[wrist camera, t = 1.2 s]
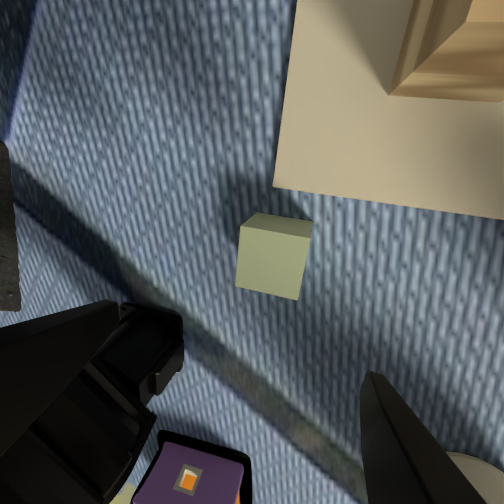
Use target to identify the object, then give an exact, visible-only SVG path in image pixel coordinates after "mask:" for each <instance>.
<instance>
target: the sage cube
mask: <svg viewBox="0 0 504 504" xmlns="http://www.w3.org/2000/svg"><path fill="white" fill-rule="evenodd" d="M312 225H313V222H312V221H306V220H300V219H294V218H288V217H282V216H276V215H270V214H264V213H258V212H257V213H255V214H254V215H253V216H252V217H251V218H249V219H248V220H247V221H246V222H245V223H243V224H242V225H241V226H240V237H239V248H238V259H237V270H236V281H235V286H237V287H241V288H246V289H250V290H254V291H259V292H263V293H267V294H272V295H276V296H280V297H284V298H289V299H293V300H297V301H298V296H299V291H300V287H301V282H302V277H303V272H304V267H305V262H306V257H307V252H308V248H309V243H310V238H311V232H312Z"/></svg>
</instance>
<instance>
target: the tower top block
mask: <svg viewBox="0 0 504 504" xmlns="http://www.w3.org/2000/svg"><path fill="white" fill-rule="evenodd" d="M412 73H434V74H457V75H480V76H502V77H504V0H433V3H432V7H431V10H430V14H429V17H428V21H427V24H426V27H425V31H424V34H423V38H422V41H421V45H420V48H419V51H418V55H417V58H416V62H415V65H414V69H413V72H412Z"/></svg>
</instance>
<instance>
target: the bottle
mask: <svg viewBox="0 0 504 504" xmlns="http://www.w3.org/2000/svg"><path fill="white" fill-rule="evenodd" d="M445 452H446V453H447V454H448V456H449V457H450V458H451V459H452V460H453V462H454V463H455V464H456V465H457V467H458V468H459V469H460V470H461V472H462V473H463V474H464V475H465V477H466V478H467V479H468V480H469V482H470V483H471V484H472V485H473V487H474V488H475V489H476V490H477V491H478V493H479V494H480V495H481V496H482V498H483V499H484V500H485V501H486V503H487V504H504V473H503V472H502V471H500V470H499V469H497V468H496V467H494V466H493V465H491V464H489V463H487V462H485V461H483V460H481V459H479V458H476V457H473V456H469V455H466V454H463V453H457V452H447V451H445Z"/></svg>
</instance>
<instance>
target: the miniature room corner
mask: <svg viewBox="0 0 504 504" xmlns="http://www.w3.org/2000/svg"><path fill="white" fill-rule="evenodd" d="M157 439H158V444H159V450H158V452H157V453H156V455H155V457H154V459H153V460H152V462H151V464H150V466H149V467H148V469H147V471H146V473H145V475H144V476H143V478H142V480H141V482H140V483H139V485H138V487H137V489H136V491H135V493H134V494H133V496H132V499H131V502H130V504H252V470H251V460H250V458H249V457H248V456H247V455H246V454H244V453H241V452H239V451H235V450H232V449H229V448H226V447H222V446H219V445H215V444H212V443H209V442H205V441H202V440H198V439H195V438H191V437H188V436H184V435H181V434H177V433H173V432H170V431H165V430H160V431H159V432H158V435H157Z"/></svg>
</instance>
